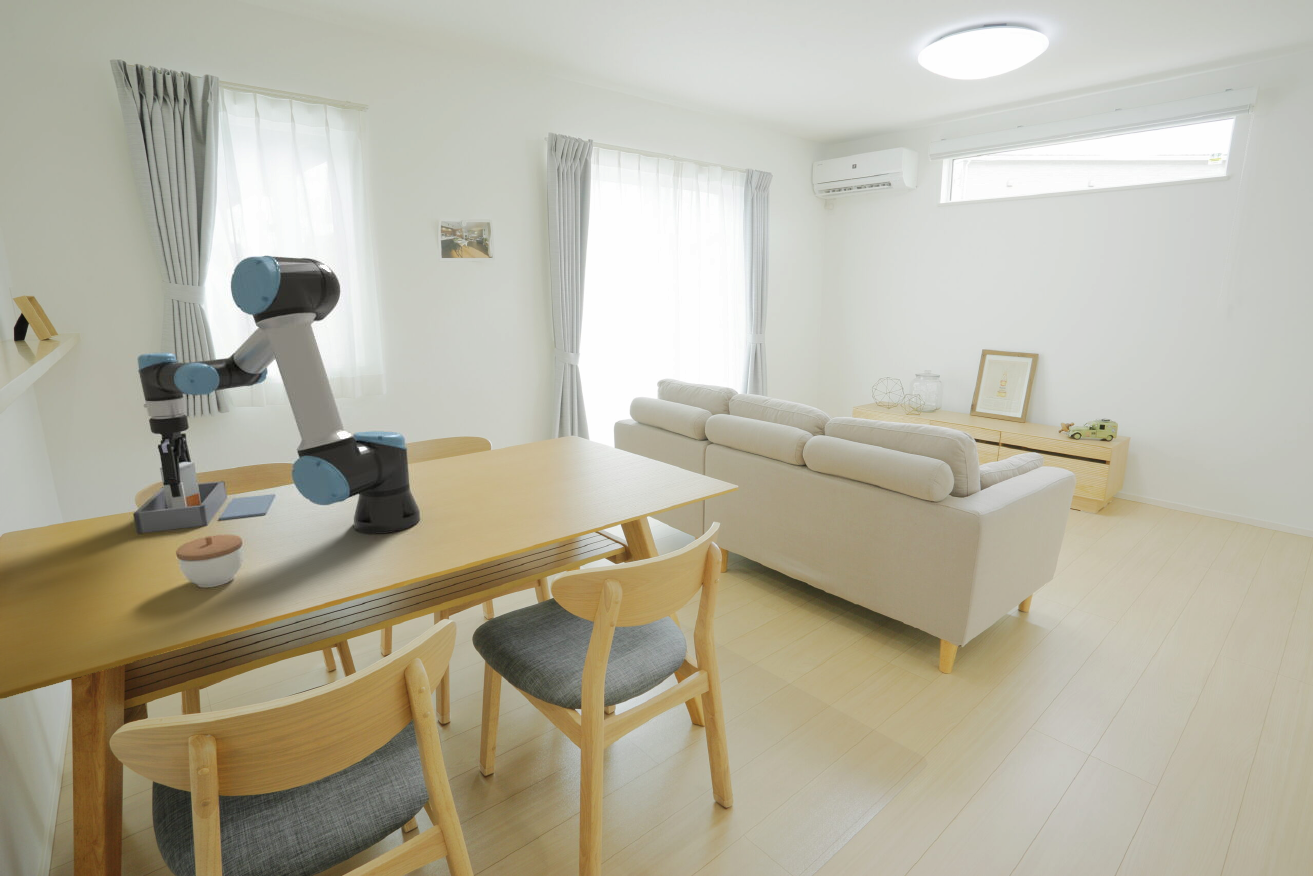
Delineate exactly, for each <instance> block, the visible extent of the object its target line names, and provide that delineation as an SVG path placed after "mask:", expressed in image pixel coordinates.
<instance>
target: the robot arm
mask: <svg viewBox="0 0 1313 876" xmlns="http://www.w3.org/2000/svg"><path fill="white" fill-rule="evenodd" d="M230 279H231V280H230V292H231V295H232V300H233V302H234V304H235V306H236V307H237V308H239V310H241V311H242V312H243V313H245V314H248V315H251V316H252V317H253V321H254V323H255V326H256V327H258V328H256V329H255V331H254V332H252V334H251V335H250V336H249V337H248V338H247V339H246V340H245V341H244V342H243V343H242V344H241V345H240V346H239V347H238V348H237V349H236V350H235V352H233V353H232V354H231V355H230V356H229V357H226V358H220V359H208V360H200V361H191V362H178V360H177V357H176V355H175V354H174V353H172V352H152V353H151V352H150V353H142V354H140V355H138V357H137V365H138V370H137V371H138V375H139V379H140V383H141V386H142V392H143V397H144V400H145V403H143V407H144V408H146V411H147V416H148V417H150V418H149V419H148V421H149V428H150V431H151V434H155V435H161V439H160V444H157V449H158V453H159V456H160V463H161V467H162V471H163V477H164V483H163V482H162V485H163V484H164V485H168V486H169V491H170V496H171V501H172V506H173V508H180V507H187V505H186V499H185V494H184V489H183V484H182V482H181V481H180V469H179V462H192V460H191V459H192V458H191V456H190V455H191V454H190V451H189V446H188V442H187V434H186V433H183V432H185V431H187V430H189V421H188V415H186V414H185V413H187V409H186V403H185V400H184V399H185V398H184V395H189V396H196V397H197V396H199V395H200V396H206V395H210V394H212V393H213V392H215V391H220V390H221V391H222V390H226V389H234V388H241V387H250V386H252V387H253V386H254V385H257V384H262V383H263V382H264V381H266V379H267V375H268V372H269V371H268V367H269V366H270V365H271V364H272V363H273V362H274V361H275V362H276V365H277V368H278V371H279V374H280V376H281V379H282V383H283V387H284V389H285V392H286V396H287V399H288V402H289V404H290V408H291V410H292V413H293V414H292V415H293V416H294V417H293V418H294V420H295V422H296V426H297V431H298V433H299V436H300V439H301V441H300V443H299V445H298V446H297V447H296V451H297V452H296V453H297V454H298V458H297V459H296V460H295V461H294V463H293V464H292V468H293V469H291V477H292V481H293V484H294V486H295V488H296V489H297V491H298V492H299V494H300V495H301V496H302V497H303V498H304V499H306V500H308V501H309V502H311V503H313V504H314V505H318V506H330V505H333V504H336V503H341V502H344V501H346V500H347V499H349V498H352V497H354V496H357V495H358V499H357V503H356V508H355V512H354V515H353V525H354V529H355V530H356V531H358V532H360V533H364V534H387V533H395V532H398V531H402V530H405V529H409V528H411V527H413V526H415V525H416V524H418V523H419V522H420V521H421V513H420V509H419V507H418V504H417V502H416V500H415V497H414V495H413V493H412V491H411V486H410V474H409V473H410V472H409V463H408V460H409V459H408V452H407V451H408V448H407V445H406V439H405V437H404V435H403V434H402V433H400V432H396V431H395V432H394V431H383V430H382V431H380V430H379V431H376V430H375V431H374V430H373V431H359V432H355V433H354V434H352V433H350V432H349V431H347V430H345V429H344V426H343V422H342V420H341V416H340V413H339V409H338V406H337V403H336V400H335V397H334V394H333V389H332V388H331V384H330V381H329V378H328V374H327V372H326V368H325V365H324V362H323V358H322V356H321V353H320V349H319V345H318V343H317V339H316V336H315V334H314V329H313V326H312V324H313V323H314V322H320V321H323V320H324V319H325V318H327V317H328V315H329V314H331V312H332V311H334V309H335V307H336V306H337V304H338V302H339V300H340V297H341V285H340V282H339V279H338V276H337V275H336V274H335V272H334V271H333V269H331V267H329V266H328V265H326V264H325V263H323V262H321V261H319V260H316V259H314V258H309V257H307V258H306V257H301V258H300V257H287V256H286V257H285V256H283V257H282V256H271V255H264V256H262V255H261V256H248V257H246V258H243V259H242V260H241V261H239V262H238V264H237V265H236V266H235V268H234V269H233V273H232V275H231V278H230ZM180 482H181V483H180Z"/></svg>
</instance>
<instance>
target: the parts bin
mask: <svg viewBox="0 0 1313 876" xmlns="http://www.w3.org/2000/svg"><path fill="white" fill-rule="evenodd" d="M198 487H199V493H200V499H201V505H199V506H190V507H180V508H171V509H167V504H166V498H165V493H164V488H163V486H162V487H161V488H160V489H159V490H157V491H156V492H155V493H154V494H153V495H152V496H151V497H150V498H149V499H148V500H147V501H146V502H144V503H143V504H142V505H141V506H140V507H139V508H138V509H137V510H136V511H134V512H133V519H134V524H135V528H136V533H137V535H138V534H145V533H154V532H162V531H171V530H179V529H188V528H195V527H204V526H206V527H207V526H208V525H209V524H210V523H211V521H212V519H213V518H214V517H215V515H216V514H217V513H218V512H219V510H220V509H221V507H222V506H223V504H224V503H225V502H226V501H227V499H228V495H227V489H226V487H227V486H226V482H225V480H221V481H220V480H219V481H210V482H203V483H202V482H201V483H199V482H198Z"/></svg>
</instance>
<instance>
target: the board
mask: <svg viewBox="0 0 1313 876" xmlns="http://www.w3.org/2000/svg"><path fill="white" fill-rule="evenodd" d="M275 497H276V493H273V494H263V495H262V494H261V495H254V496H243V497H234V498H232V500H231V501H230V502H229V503H228V505H227V507H226V508H225V509H224V511H223V512H222V514H221V515H220V517H219V521H223V520H224V521H225V520H232V519H240V518H242V519H243V518H249V517H250V518H251V517H257V516H266V515H267V513H268V511H269V509H270V508H271V505H272V503H273V502H274V500H275Z"/></svg>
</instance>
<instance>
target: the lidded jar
mask: <svg viewBox="0 0 1313 876" xmlns="http://www.w3.org/2000/svg"><path fill="white" fill-rule="evenodd" d="M243 548H244V547H243V538H241V537H240V536H239V535H235V534H215V535H207V536H205V537H201V538H197V539H194V540H191V541H187V542H186V543H183V544H181V546H179V547H178V548H177V550H176V551H175V555H176V557H177V561H178V565H179V568H180V570H181V572H182V574H183V576H184V577H185V578H186V580H188V581H189V582H191V583H192V584H195V585H197V587H198V588H199V587H200V588H205V589H207V588H214V587H220V586H223V585H225V584H228V583H230V582H232V581H233V580H234V578H235V576H236V575H237V574H238V573H239V571H240V569H241V567H242V565H243V561H244V549H243Z"/></svg>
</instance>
